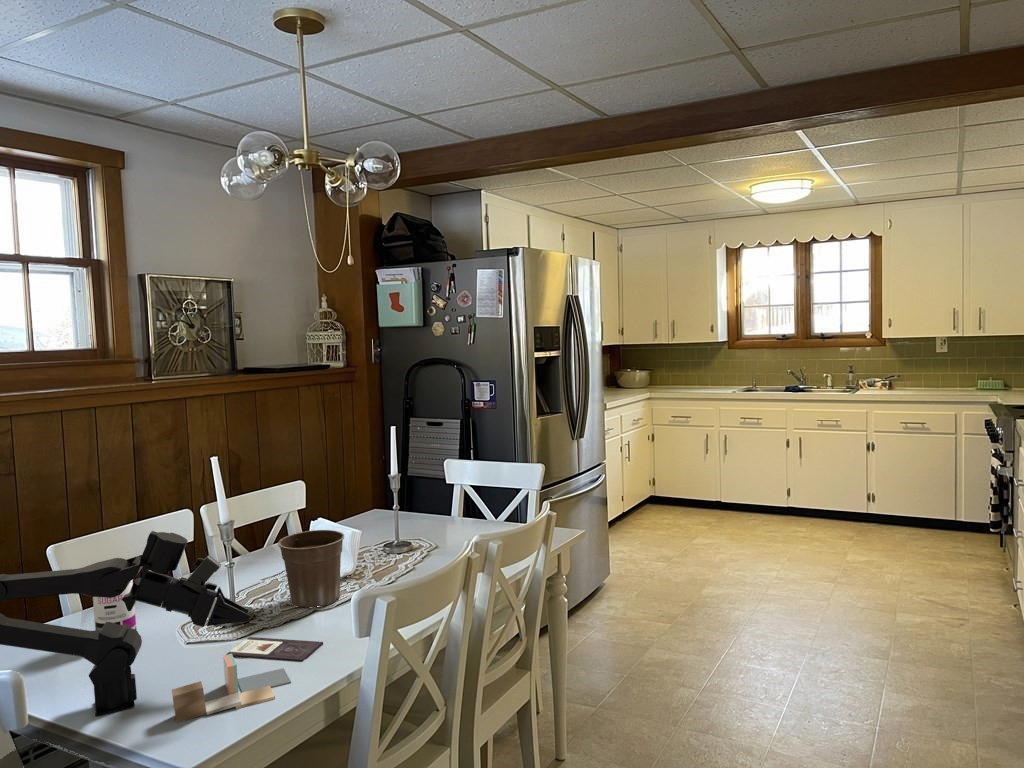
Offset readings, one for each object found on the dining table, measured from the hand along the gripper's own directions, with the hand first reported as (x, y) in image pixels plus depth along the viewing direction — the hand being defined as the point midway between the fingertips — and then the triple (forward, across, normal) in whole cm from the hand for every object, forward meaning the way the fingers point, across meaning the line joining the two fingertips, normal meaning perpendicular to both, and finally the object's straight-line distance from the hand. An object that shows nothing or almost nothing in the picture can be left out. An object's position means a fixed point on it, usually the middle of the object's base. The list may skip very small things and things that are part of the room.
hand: (248, 615), depth 150 cm
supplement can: (-22, +40, +17) cm, 48 cm away
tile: (+2, +2, +14) cm, 14 cm away
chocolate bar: (+10, +18, +8) cm, 21 cm away
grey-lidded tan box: (-1, -5, +17) cm, 18 cm away
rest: (+6, -3, +14) cm, 15 cm away
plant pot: (+18, +44, -3) cm, 48 cm away
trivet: (+8, +3, +11) cm, 14 cm away
